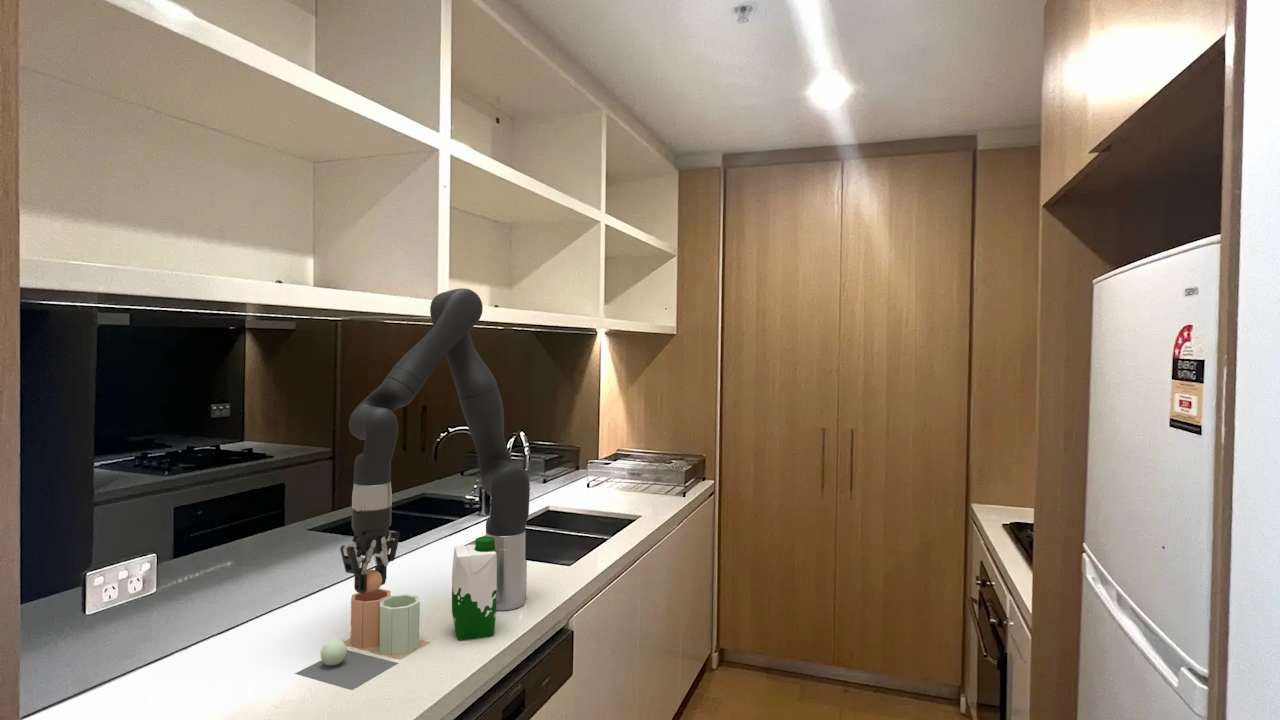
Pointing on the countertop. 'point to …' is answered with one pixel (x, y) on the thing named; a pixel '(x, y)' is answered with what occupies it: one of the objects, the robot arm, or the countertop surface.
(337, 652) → the ball sage
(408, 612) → the tubes
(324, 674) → the mat
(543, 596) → the countertop surface
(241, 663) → the countertop surface
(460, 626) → the milk carton
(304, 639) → the countertop surface
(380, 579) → the ball rust
